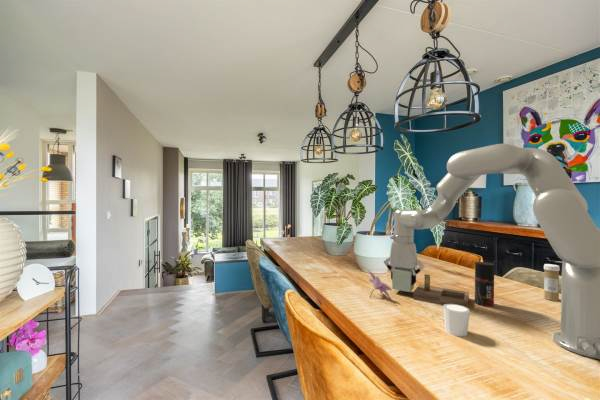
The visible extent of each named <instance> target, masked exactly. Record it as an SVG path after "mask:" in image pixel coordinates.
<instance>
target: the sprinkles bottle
mask: <svg viewBox="0 0 600 400" xmlns="http://www.w3.org/2000/svg"><path fill="white" fill-rule="evenodd" d="M560 269H561V268H560V265H557V264H551V263H544V265H543V270H544V273H543V274H544V277H543V281H544V282H543V298H544V299H545V300H548V301H554V302H558V301H560Z"/></svg>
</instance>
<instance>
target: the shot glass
mask: <svg viewBox="0 0 600 400" xmlns="http://www.w3.org/2000/svg"><path fill="white" fill-rule="evenodd" d="M442 309H443V317H444V319H443V320H444V330H445V332H446V333H447V334H450V335H451V336H455V337H467V335H468V330H469V322H470V315H471V310H470V308H469V307H468V308H467V307H464V306H461V305H457V304H445V305H443V304H442Z"/></svg>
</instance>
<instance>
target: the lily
mask: <svg viewBox="0 0 600 400" xmlns="http://www.w3.org/2000/svg"><path fill="white" fill-rule="evenodd" d="M367 272H368V273H369V274H370V276H371V279H369V280H368V281H369V282H370V283H372V284H373V289H372V291H371V293H370V296H369V298H371V297H372V295H373V294H374V293H373V292H374V291H375V290H379V292H380V293H384V294H385V295H387V297H389V299H390V298H391V296H390V294H389V293H388V291H393V289H392V287H390V286H389V285H388V284H386V283H384V282H382V281H381V279H380V277H379V276H378V275H377V276H376V275H375V274H374V273H373V272H372V271H370V270H368V269H367Z"/></svg>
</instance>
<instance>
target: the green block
mask: <svg viewBox="0 0 600 400" xmlns="http://www.w3.org/2000/svg"><path fill="white" fill-rule="evenodd" d="M391 280H392V281H391V282H392V285H391V286H392V287H391V289H392V290H395V291H402V292H408V293H411V292H412V291H413V289H414V288H415V284H414V285H412V271H411V270H410V269H405V268H398V267H395V268H394V269H393V273H392V279H391Z"/></svg>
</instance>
